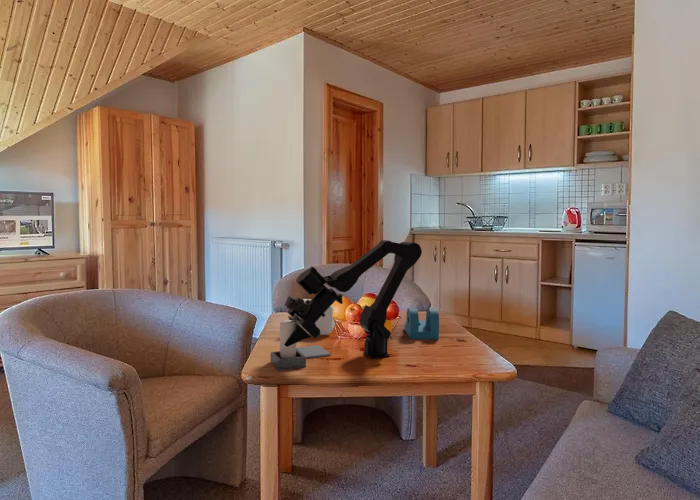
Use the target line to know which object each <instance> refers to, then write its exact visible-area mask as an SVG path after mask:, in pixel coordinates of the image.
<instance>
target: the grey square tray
mask: <svg viewBox="0 0 700 500" xmlns="http://www.w3.org/2000/svg"><path fill="white" fill-rule="evenodd" d="M270 363H271V364H272V366H274V367H275V369H277V371H278V372H279V371H287V370H294V369H299V368H306V367H307V359H306V357H305V356H304V355H303V354H302V353H301V352H300V351H299V350H297V349H296V357H295V358H287V359H280V350H278V351H271V352H270Z"/></svg>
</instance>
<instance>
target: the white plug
mask: <svg viewBox="0 0 700 500" xmlns="http://www.w3.org/2000/svg"><path fill="white" fill-rule="evenodd" d="M295 322H296V321H294V320H289V319H284V320H280V322H279V351H280V359H287V358H295V357H296V348H297V343H295V344H292V345H290V346H288V347H286V346H285V345H284V344H285V342H286V341H287V339H288V338H289V336H290V335H291V334H292V332H293V331H294V329H295Z"/></svg>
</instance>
